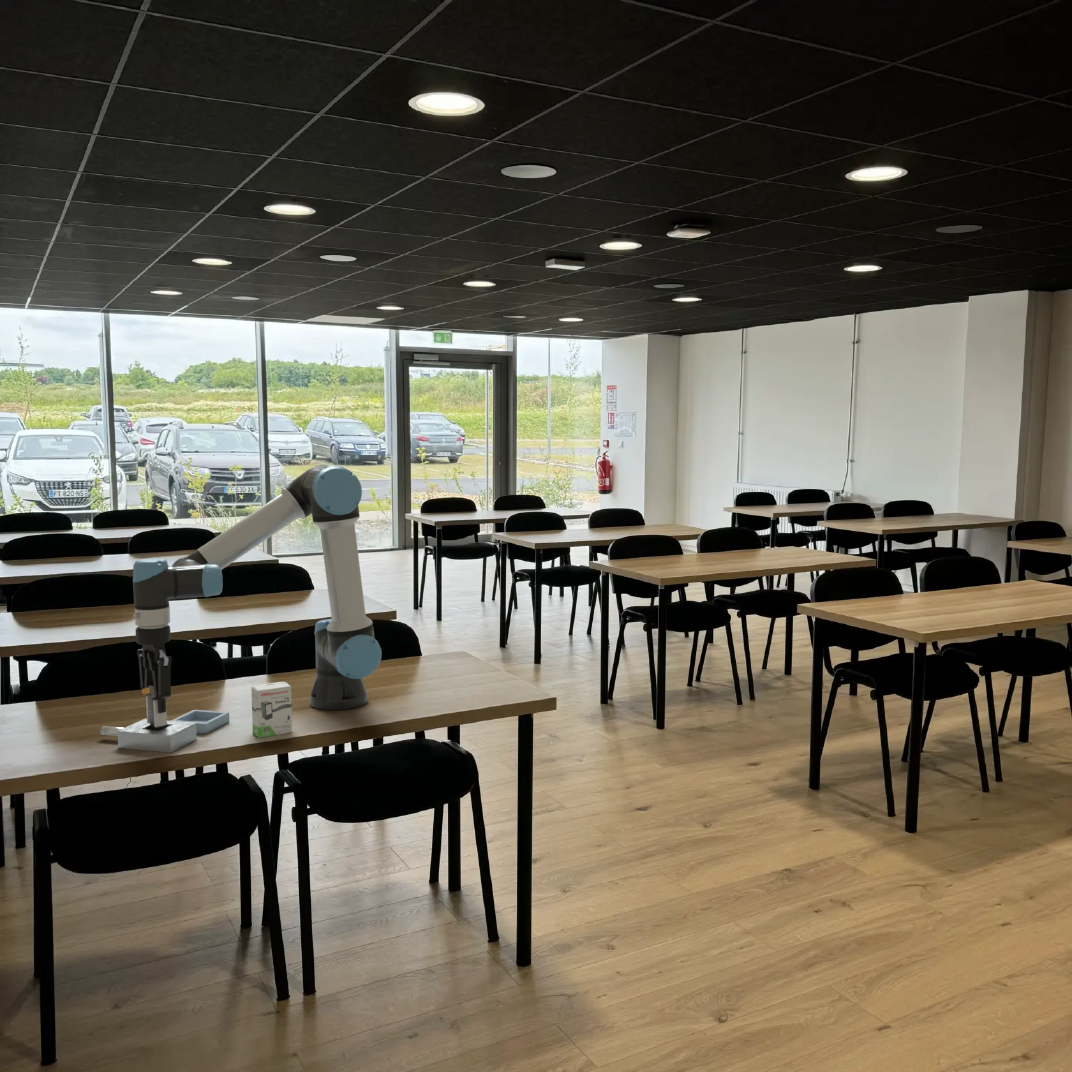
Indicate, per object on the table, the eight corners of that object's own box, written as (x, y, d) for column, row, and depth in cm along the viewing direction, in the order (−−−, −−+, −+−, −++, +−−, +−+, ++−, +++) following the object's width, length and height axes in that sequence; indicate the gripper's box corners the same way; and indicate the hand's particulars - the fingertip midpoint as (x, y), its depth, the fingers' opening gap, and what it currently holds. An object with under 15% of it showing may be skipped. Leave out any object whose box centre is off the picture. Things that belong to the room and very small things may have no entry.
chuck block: (196, 739, 228) (196, 722, 227) (170, 752, 218) (170, 735, 218) (117, 732, 233) (116, 716, 233) (88, 744, 223) (87, 728, 223)
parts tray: (229, 722, 241) (229, 712, 241) (206, 734, 231) (206, 724, 231) (194, 719, 244) (194, 709, 243) (170, 730, 234) (170, 721, 234)
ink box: (258, 738, 228) (256, 690, 227) (252, 733, 232) (250, 685, 231) (293, 732, 233) (291, 685, 232) (286, 727, 237) (285, 680, 236)
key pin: (170, 738, 228) (167, 681, 226) (174, 742, 225) (172, 684, 224) (142, 744, 224) (139, 685, 222) (146, 747, 221) (143, 688, 220)
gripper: (122, 622, 225) (126, 719, 227) (152, 633, 213) (156, 735, 216) (153, 618, 230) (157, 713, 232) (184, 628, 218) (188, 727, 221)
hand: (157, 723), depth 224 cm, fingers closed on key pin, 3 cm apart
